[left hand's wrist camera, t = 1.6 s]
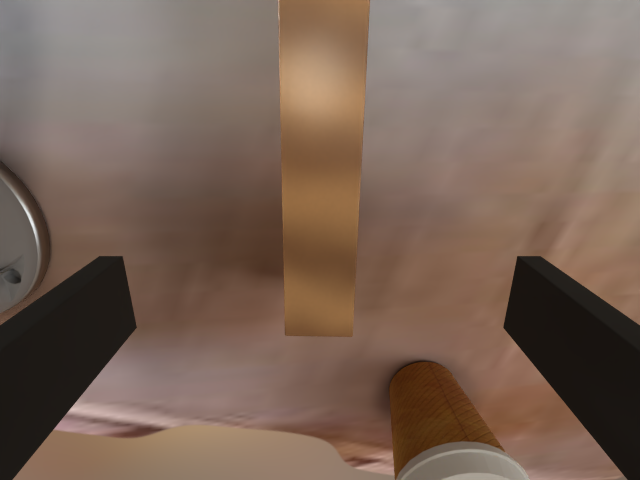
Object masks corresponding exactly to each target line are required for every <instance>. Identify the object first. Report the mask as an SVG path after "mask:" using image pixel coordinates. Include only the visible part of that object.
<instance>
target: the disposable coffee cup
mask: <svg viewBox="0 0 640 480" xmlns="http://www.w3.org/2000/svg"><path fill="white" fill-rule="evenodd" d="M389 395H390V409H391V426H392V442H393V457H394V472H395V480H530V479H529V477H528V475H527V473H526V472H525V470H524V469H523V467H522V466H521V465H519V464H518V463H517V462H516V461H515V460H514V459H512V458H511V457H510V456H509V455H508V454H507V453H505V451H504V449H503V448H502V446H500V443H499V442H498V441H497V439H495V436H494V435H493V433H492V432H491V430H490V429H489V428H488V426H486V423H485V422H484V420H482V417H481V416H480V415H479V413H478V412H477V410H476V409H475V407H474V406H473V404H471V401H470V400H469V399H468V397H467V396H466V394H465V393H464V391H463V390H462V389H461V387H460V386H459V384H458V383H457V381H456V380H455V378H454V377H453V376H452V374H451V373H450V371H449V370H448V369H446V368H445V367H443V366H441V365H439V364H436V363H432V362H418V363H414V364H411V365H408V366H406V367H404V368H403V369H401V370H400V371H399V372H398V373H397V374H396V375H395V376H394V377H393V379H392V381H391V384H390V387H389Z"/></svg>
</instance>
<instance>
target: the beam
mask: <svg viewBox="0 0 640 480" xmlns="http://www.w3.org/2000/svg"><path fill="white" fill-rule="evenodd" d="M369 7H370V0H278V23H279V71H280V118H281V166H282V213H283V260H284V308H285V335H286V336H338V337H352V336H353V317H354V297H355V278H356V259H357V239H358V220H359V201H360V181H361V162H362V143H363V123H364V104H365V85H366V65H367V46H368V27H369Z"/></svg>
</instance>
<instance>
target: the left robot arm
mask: <svg viewBox="0 0 640 480" xmlns="http://www.w3.org/2000/svg"><path fill="white" fill-rule="evenodd" d="M49 256H50V243H49V235H48V231H47V227H46V224H45V221H44V218H43V216H42V213H41V211H40V209H39V207H38V205H37V203H36V201H35V200H34V198H33V197H32V195H31V194H30V192H29V191H28V189H27V188H26V187H25V185H24V184H23V183H22V182H21V181H20V180H19V178H18V177H17V176H16V175H15V174H14V173H13V172H12V171H11V170H10V169H9V168H7V167H6V166H5V165H4V164H3V163H1V162H0V313H2V312H4V311H6V310H8V309H10V308H11V307H13V306H15V305H16V304H18V303H19V302H21V301H22V300H24V299H25V298H27V297H28V296H29V295H30V294H32V293H33V292H34V291H35V289H36V288H37V287H38V286H39V284H40V283H41V281H42V280H43V278H44V276H45V273H46V271H47V267H48V263H49ZM136 328H137V327H136V322H135V317H134V312H133V307H132V302H131V297H130V292H129V287H128V281H127V276H126V271H125V266H124V261H123V256H99V257H98V258H96V259H95V260H94V261H92V262H91V263H89V264H88V265H86V266H85V267H83V268H82V269H81V270H79V271H78V272H76V273H75V274H73V275H72V276H71V277H69V278H68V279H66V280H65V281H63V282H62V283H60V284H59V285H58V286H56V287H55V288H53V289H52V290H50V291H49V292H48V293H46V294H45V295H43V296H42V297H40V298H39V299H37V300H36V301H35V302H33V303H32V304H30V305H29V306H27V307H26V308H25V309H23V310H22V311H20V312H19V313H17V314H16V315H15V316H13V317H12V318H10V319H9V320H7V321H6V322H4V323H3V324H2V325H0V480H12V479H13V478H14V477H15V476H16V475H17V473H18V472H19V471H20V470H21V469H22V467H23V466H24V465H25V464H26V462H27V461H28V460H29V459H30V457H31V456H32V455H33V454H34V453H35V451H36V450H37V449H38V448H39V446H40V445H41V444H42V443H43V442H44V440H45V439H46V438H47V437H48V435H49V434H50V433H51V432H52V431H53V429H54V428H55V427H56V426H57V424H58V423H59V422H60V421H61V420H62V418H63V417H64V416H65V415H66V413H67V412H68V411H69V410H70V408H71V407H72V406H73V405H74V404H75V402H76V401H77V400H78V399H79V397H80V396H81V395H82V394H83V393H84V391H85V390H86V389H87V388H88V386H89V385H90V384H91V383H92V382H93V380H94V379H95V378H96V377H97V375H98V374H99V373H100V372H101V370H102V369H103V368H104V367H105V366H106V364H107V363H108V362H109V361H110V359H111V358H112V357H113V356H114V355H115V353H116V352H117V351H118V350H119V348H120V347H121V346H122V345H123V344H124V342H125V341H126V340H127V339H128V337H129V336H130V335H131V334H132V333H133V331H134V330H135V329H136ZM503 328H504V329H505V330H506V331H507V333H508V334H509V335H510V336H511V337H512V339H513V340H514V341H515V342H516V344H517V345H518V346H519V347H520V348H521V350H522V351H523V352H524V353H525V355H526V356H527V357H528V358H529V359H530V361H531V362H532V363H533V364H534V366H535V367H536V368H537V369H538V371H539V372H540V373H541V374H542V375H543V377H544V378H545V379H546V380H547V382H548V383H549V384H550V385H551V386H552V388H553V389H554V390H555V391H556V393H557V394H558V395H559V396H560V397H561V399H562V400H563V401H564V402H565V404H566V405H567V406H568V407H569V408H570V410H571V411H572V412H573V413H574V415H575V416H576V417H577V418H578V420H579V421H580V422H581V423H582V424H583V426H584V427H585V428H586V429H587V431H588V432H589V433H590V434H591V435H592V437H593V438H594V439H595V440H596V442H597V443H598V444H599V445H600V446H601V448H602V449H603V450H604V451H605V453H606V454H607V455H608V456H609V457H610V459H611V460H612V461H613V462H614V464H615V465H616V466H617V467H618V469H619V470H620V471H621V472H622V473H623V475H624V476H625V477H626V478H627V480H640V325H638V324H637V323H636V322H634V321H633V320H631V319H630V318H628V317H627V316H625V315H624V314H623V313H621V312H620V311H618V310H617V309H615V308H614V307H613V306H611V305H610V304H608V303H607V302H605V301H604V300H603V299H601V298H600V297H598V296H597V295H595V294H594V293H592V292H591V291H590V290H588V289H587V288H585V287H584V286H582V285H581V284H580V283H578V282H577V281H575V280H574V279H572V278H571V277H569V276H568V275H567V274H565V273H564V272H562V271H561V270H559V269H558V268H557V267H555V266H554V265H552V264H551V263H549V262H548V261H546V260H545V259H544V258H542V257H541V256H517V261H516V266H515V271H514V276H513V281H512V287H511V292H510V297H509V302H508V307H507V312H506V317H505V322H504V327H503Z"/></svg>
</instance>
